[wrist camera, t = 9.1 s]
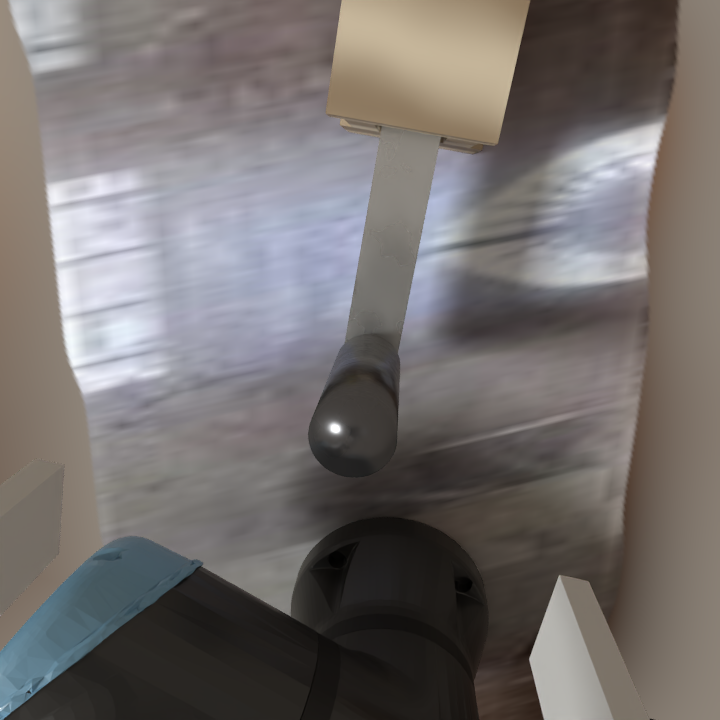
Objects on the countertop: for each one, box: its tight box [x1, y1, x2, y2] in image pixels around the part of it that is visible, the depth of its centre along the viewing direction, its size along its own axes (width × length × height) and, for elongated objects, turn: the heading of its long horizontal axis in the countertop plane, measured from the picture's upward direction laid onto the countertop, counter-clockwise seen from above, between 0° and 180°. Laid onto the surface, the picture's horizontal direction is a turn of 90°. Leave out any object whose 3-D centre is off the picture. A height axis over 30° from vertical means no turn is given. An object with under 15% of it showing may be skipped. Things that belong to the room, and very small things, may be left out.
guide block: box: [326, 0, 530, 154], centre depth 31 cm, size 12×8×11 cm, turn 170°
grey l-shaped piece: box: [308, 126, 441, 477], centre depth 28 cm, size 24×4×13 cm, turn 170°
